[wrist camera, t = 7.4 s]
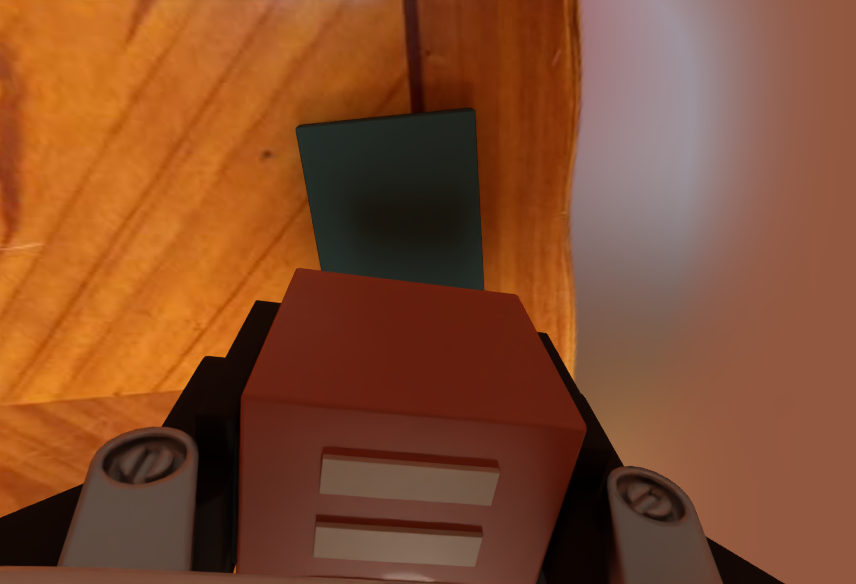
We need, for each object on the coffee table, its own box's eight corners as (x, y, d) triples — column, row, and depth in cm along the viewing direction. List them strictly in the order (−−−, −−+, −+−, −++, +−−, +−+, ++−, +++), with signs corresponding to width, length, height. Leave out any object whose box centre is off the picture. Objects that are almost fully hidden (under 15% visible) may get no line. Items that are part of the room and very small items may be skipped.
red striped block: (295, 266, 11) (237, 400, 7) (518, 293, 11) (593, 432, 7) (283, 450, 13) (231, 645, 9) (476, 465, 13) (516, 657, 9)
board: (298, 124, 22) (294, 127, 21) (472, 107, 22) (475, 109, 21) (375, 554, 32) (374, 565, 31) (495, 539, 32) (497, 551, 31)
